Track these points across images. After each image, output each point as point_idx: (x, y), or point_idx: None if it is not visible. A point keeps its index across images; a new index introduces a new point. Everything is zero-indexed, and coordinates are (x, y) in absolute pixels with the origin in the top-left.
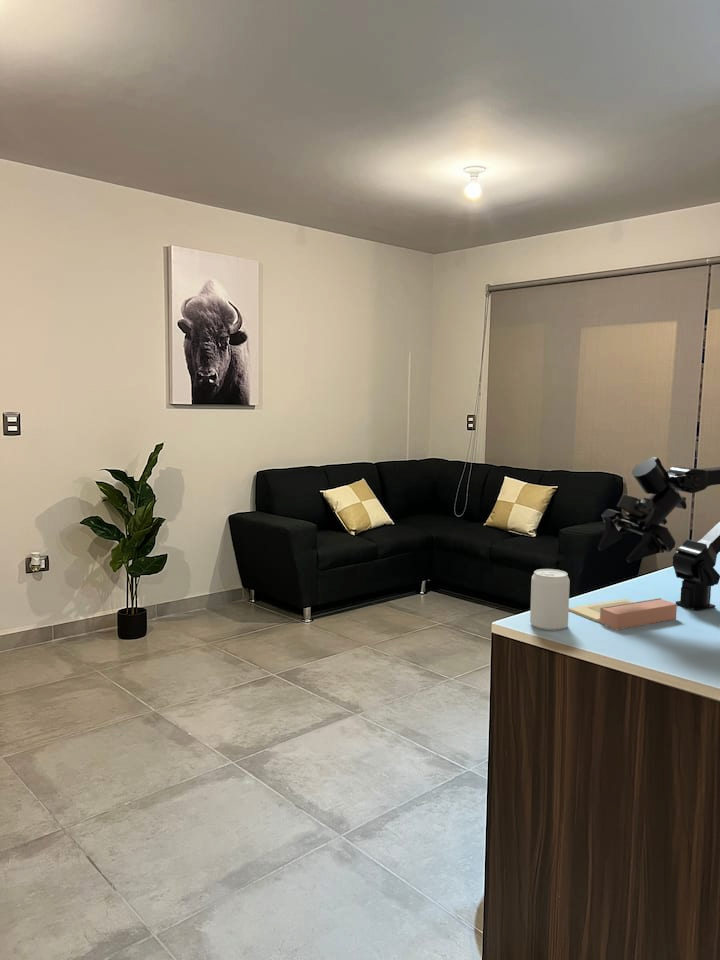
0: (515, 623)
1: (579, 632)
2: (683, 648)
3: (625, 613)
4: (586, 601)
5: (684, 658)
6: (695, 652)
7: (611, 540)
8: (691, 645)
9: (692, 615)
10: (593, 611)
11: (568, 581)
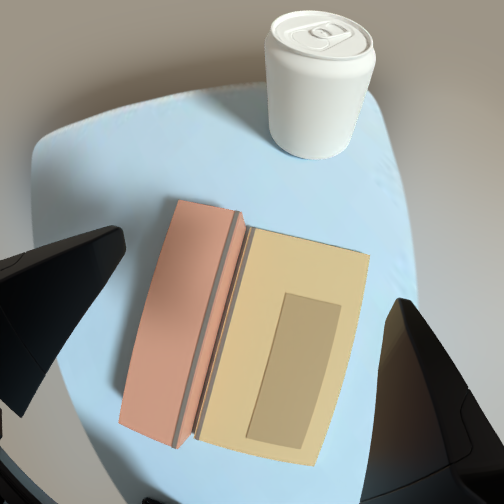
0: None
1: (240, 143)
2: (63, 227)
3: (168, 229)
4: None
5: (56, 186)
6: (48, 226)
7: (383, 450)
8: None
9: (133, 463)
10: (307, 286)
11: (266, 50)
